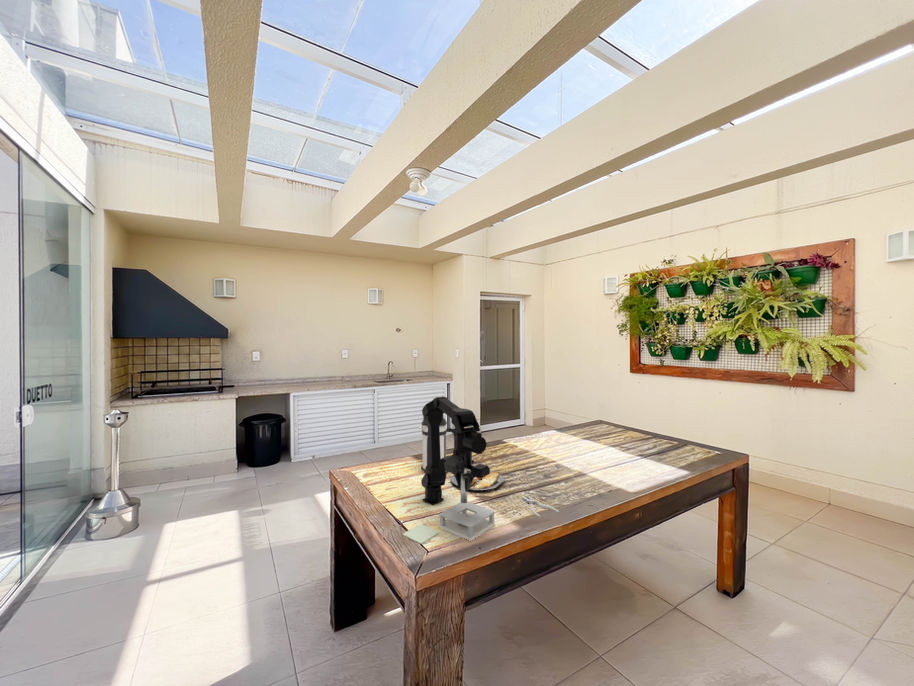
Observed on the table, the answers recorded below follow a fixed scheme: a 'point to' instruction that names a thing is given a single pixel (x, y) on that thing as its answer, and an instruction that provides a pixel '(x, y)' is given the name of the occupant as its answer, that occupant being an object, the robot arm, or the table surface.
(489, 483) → the food plate
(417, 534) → the mat
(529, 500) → the pliers
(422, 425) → the coffee press
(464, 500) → the shiny metal cylinder
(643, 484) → the table surface
